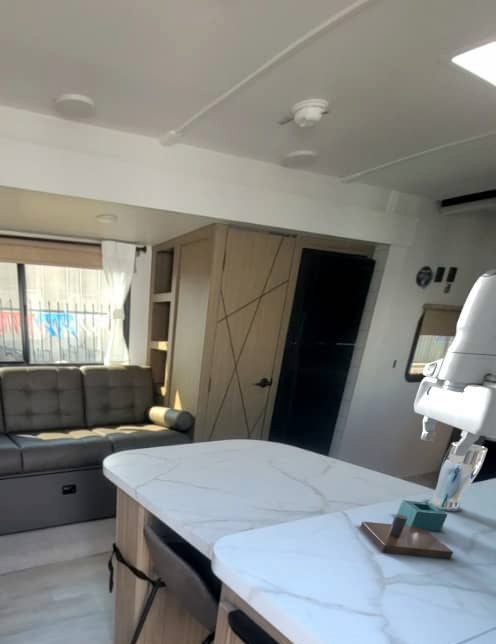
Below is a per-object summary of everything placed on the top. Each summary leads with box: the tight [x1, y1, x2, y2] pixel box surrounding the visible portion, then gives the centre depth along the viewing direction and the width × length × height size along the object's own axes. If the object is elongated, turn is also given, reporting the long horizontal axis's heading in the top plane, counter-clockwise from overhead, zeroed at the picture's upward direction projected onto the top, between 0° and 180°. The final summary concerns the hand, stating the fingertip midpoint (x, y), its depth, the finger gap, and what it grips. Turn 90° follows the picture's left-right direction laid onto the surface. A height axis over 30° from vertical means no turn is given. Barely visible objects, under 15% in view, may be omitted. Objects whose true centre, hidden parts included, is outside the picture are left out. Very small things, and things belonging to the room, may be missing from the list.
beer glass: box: [427, 441, 488, 512], centre depth 95 cm, size 7×7×15 cm
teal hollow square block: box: [396, 499, 448, 532], centre depth 88 cm, size 6×6×4 cm
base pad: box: [359, 513, 454, 560], centre depth 79 cm, size 12×10×6 cm
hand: (441, 447), depth 77 cm, fingers open, 8 cm apart
